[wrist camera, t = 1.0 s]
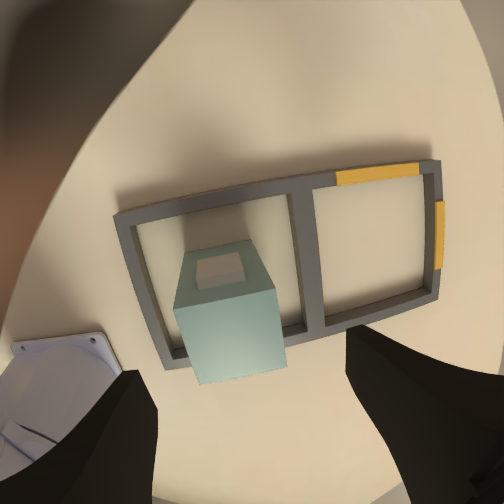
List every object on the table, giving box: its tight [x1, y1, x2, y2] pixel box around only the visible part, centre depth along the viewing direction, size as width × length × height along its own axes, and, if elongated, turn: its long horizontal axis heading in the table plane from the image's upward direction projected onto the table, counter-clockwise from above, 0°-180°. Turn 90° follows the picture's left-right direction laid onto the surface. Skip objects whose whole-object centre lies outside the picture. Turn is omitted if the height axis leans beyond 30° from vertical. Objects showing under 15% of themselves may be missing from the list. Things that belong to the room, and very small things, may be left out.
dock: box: [113, 159, 445, 371], centre depth 18 cm, size 21×11×1 cm, turn 100°
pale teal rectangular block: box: [173, 240, 287, 385], centre depth 15 cm, size 4×4×7 cm
